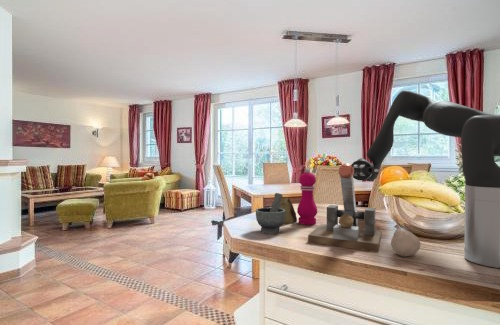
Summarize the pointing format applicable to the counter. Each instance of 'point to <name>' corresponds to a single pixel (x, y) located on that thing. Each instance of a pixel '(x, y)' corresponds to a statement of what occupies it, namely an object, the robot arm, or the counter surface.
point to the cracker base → (343, 243)
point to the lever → (349, 194)
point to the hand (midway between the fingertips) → (356, 170)
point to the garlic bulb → (404, 242)
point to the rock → (288, 210)
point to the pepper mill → (307, 199)
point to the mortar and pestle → (271, 216)
